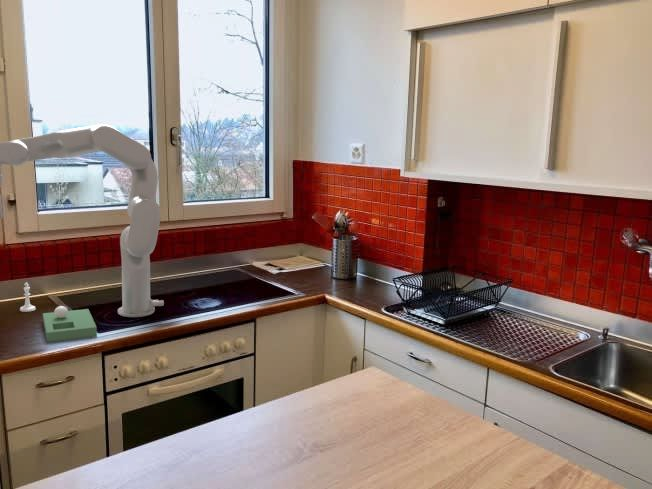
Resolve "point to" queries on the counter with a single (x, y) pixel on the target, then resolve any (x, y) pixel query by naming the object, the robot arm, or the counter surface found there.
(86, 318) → the green
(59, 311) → the ball
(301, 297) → the counter surface
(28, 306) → the chess piece
